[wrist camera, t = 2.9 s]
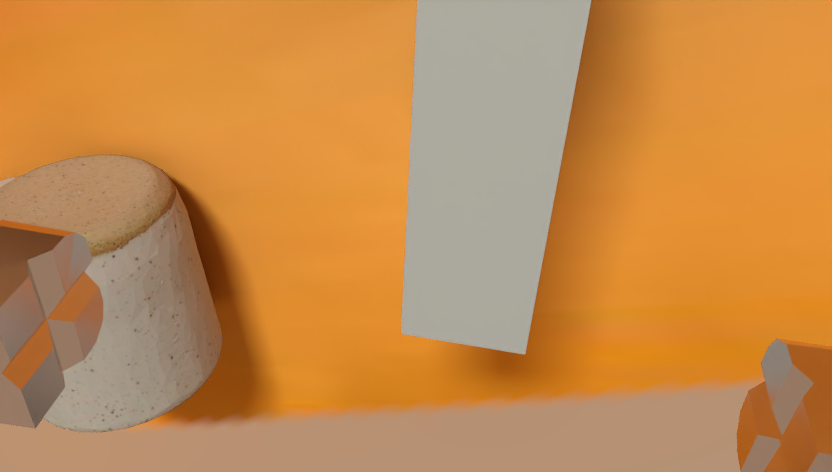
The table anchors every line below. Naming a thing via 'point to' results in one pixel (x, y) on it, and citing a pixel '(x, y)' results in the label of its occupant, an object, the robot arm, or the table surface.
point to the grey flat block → (485, 163)
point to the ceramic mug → (126, 287)
